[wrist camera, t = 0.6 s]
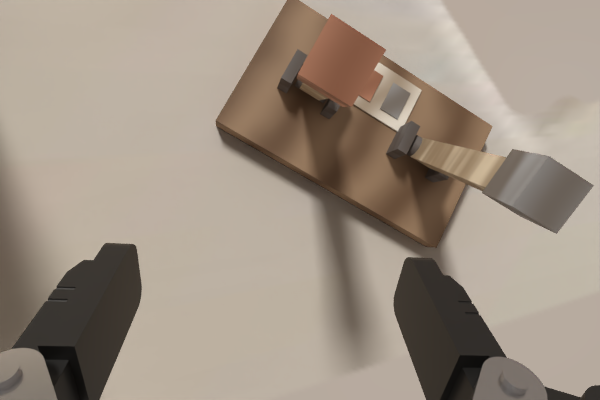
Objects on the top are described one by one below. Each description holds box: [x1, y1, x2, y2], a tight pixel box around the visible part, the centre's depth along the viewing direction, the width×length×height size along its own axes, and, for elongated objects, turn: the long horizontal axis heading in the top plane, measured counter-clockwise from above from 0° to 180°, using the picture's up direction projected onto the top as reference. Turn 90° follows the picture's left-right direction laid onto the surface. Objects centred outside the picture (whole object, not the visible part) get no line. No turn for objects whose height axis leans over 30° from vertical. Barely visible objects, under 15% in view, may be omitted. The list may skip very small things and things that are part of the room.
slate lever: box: [407, 135, 594, 234], centre depth 28 cm, size 3×3×19 cm
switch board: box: [216, 0, 492, 248], centre depth 36 cm, size 24×14×4 cm, turn 62°
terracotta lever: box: [295, 14, 386, 107], centre depth 26 cm, size 3×3×19 cm
